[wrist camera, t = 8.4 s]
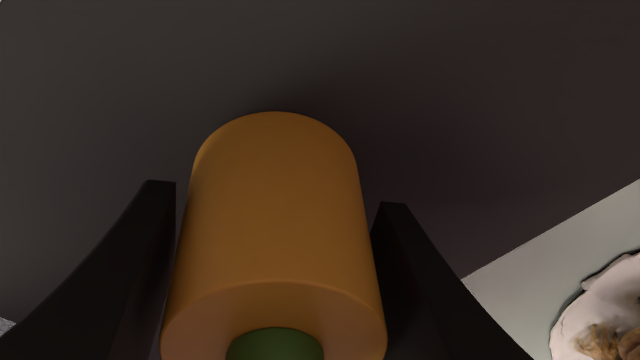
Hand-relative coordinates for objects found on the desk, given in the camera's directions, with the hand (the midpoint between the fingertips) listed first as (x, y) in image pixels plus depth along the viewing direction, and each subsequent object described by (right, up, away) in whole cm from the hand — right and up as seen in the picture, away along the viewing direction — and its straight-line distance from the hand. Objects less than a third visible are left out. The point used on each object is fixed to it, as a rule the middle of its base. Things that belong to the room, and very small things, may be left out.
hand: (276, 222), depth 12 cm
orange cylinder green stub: (0, +1, +1) cm, 2 cm away
